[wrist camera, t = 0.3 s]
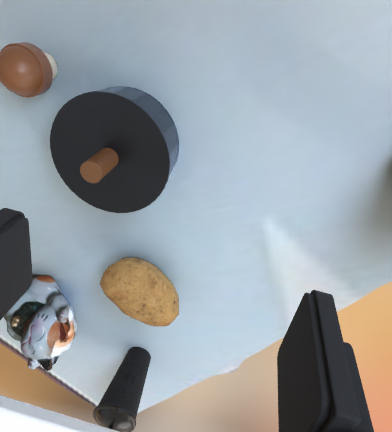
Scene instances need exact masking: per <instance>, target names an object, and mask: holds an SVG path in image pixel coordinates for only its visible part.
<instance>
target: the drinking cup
mask: <svg viewBox="0 0 392 432" xmlns="http://www.w3.org/2000/svg"><path fill="white" fill-rule="evenodd" d="M150 358H151V357H150V354H149V353H148V352H147V351H146V350H145V349H143V348H140V347H132V348H130V349H129V351H128V353H127V354H126V356H125V358H124V360H123V362H122V363H121V365H120V367H119V369H118V371H117V372H116V374H115V376H114V378H113V380H112V381H111V383H110V385H109V387H108V389H107V391H106V392H105V394H104V396H103V398H102V400H101V401H100V403H99V405H98V406H97V407H96V408H95V409H94V411H93V417H94V419H95V421H96V422H97V423H98V424H99V425H100V426H102V427H105V428H109V429H112V430H115V431H118V432H131V431H133V430H134V428H135V426H136V420H135V419H136V416H137V411H138V407H139V403H140V399H141V395H142V391H143V387H144V383H145V379H146V375H147V371H148V367H149V363H150Z"/></svg>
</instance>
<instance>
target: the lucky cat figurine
mask: <svg viewBox="0 0 392 432" xmlns="http://www.w3.org/2000/svg"><path fill="white" fill-rule="evenodd" d="M32 276H33V280H32V284H31V286H30V288H29V289H28V290H27V291H26V293H25V294H24V295H23V296H22V297H21V298H20V299H19V300H18V301H17V302H16V303H15V305H14V306H13V307H12V308H11V309H10V310H9V311H8V312H7V313H6V314H5V316H4V318H5V320H6V322H7V332H8V333H9V335H10V336H11V337H12V338H14V339H15V340H18V341H20V342H21V351H22V352H23V353H24V355H25V356H26V357H27V358H28V359H29V361H28V367H29V368H31V369H35V368H36V367H38V366H40V365H42V366H43V367H44V369H45V370H47V371H48V370H50V369H52V365H53V364H55V363H56V361H57V359H58V357H59V356H60V355H61V354H62V353H64V352H65V351H66V350H68V349H69V348H70V347H71V342H72V340H73V339H74V337H75V335H76V329H77V323H76V318H75V316H74V313H73V311H74V310H73V308H72V307H71V306H70V305H69V303H68V302H67V300H66V298H65V297H64V295H63V294H62V292H61V291H60V288H59V286H58V285H57V283H56V281H55V280H54V279H53V278H52V277H51V276H48V275H32Z"/></svg>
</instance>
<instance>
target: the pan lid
mask: <svg viewBox="0 0 392 432" xmlns="http://www.w3.org/2000/svg"><path fill="white" fill-rule="evenodd" d="M50 148H51V154H52V158H53V161H54V164H55V166H56V169H57V171H58V173H59V174H60V176H61V178H62V179H63V181H64V182H65V184H66V185H67V186H68V187H69V188H70V189H71V190H72V191H73V192H74V193H75V194H76V195H77V196H78V197H79V198H81V199H82V200H84V201H85V202H87V203H88V204H90V205H92V206H94V207H96V208H99V209H102V210H105V211H109V212H115V213H127V212H133V211H137V210H140V209H142V208H145V207H146V206H148V205H150V204H151V203H152V202H153V201H155V200H156V199H157V198H158V196H159V195H160V194H161V192H162V191H163V189H164V188H165V186H166V184H167V181H168V178H169V174H170V168H171V158H170V151H169V147H168V143H167V140H166V138H165V135H164V133H163V131H162V130H161V128H160V126H159V125H158V123H157V122H156V120H155V119H154V118H153V117H152V116H151V115H150V113H149V112H148V111H146V110H145V109H144V108H143V107H142V106H140V105H139V104H138V103H136V102H135V101H133V100H131V99H129V98H127V97H125V96H122V95H120V94H117V93H112V92H106V91H94V92H88V93H84V94H82V95H79V96H76V97H75V98H73V99H71V100H70V101H68V102H67V103H66V104H65V105H64V106H63V107H62V108H61V109H60V111H59V112H58V114H57V115H56V117H55V119H54V122H53V124H52V129H51V135H50Z"/></svg>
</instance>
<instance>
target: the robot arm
mask: <svg viewBox="0 0 392 432" xmlns="http://www.w3.org/2000/svg"><path fill="white" fill-rule="evenodd" d="M32 280H33V276H32V263H31V249H30V236H29V222H28V219H27V218H25V216H24V214H23V213H22V212H19V211H15V210H11V209H8V208H3V209H1V210H0V320H1V319H2V318H3V317H4V316H5V314H6V313H7V312H8V311H9V310H10V309H11V308H12V307H13V306H14V305H15V303H16V302H17V301H18V300H19V299H20V298H21V297H22V296H23V295H24V294H25V293H26V291H27V290H28V289H29V288H30V286H31V284H32ZM277 364H278V365H277V366H278V414H279V432H374V430H373V426H372V422H371V418H370V414H369V411H368V407H367V403H366V399H365V395H364V391H363V387H362V383H361V379H360V376H359V371H358V367H357V363H356V359H355V356H354V352H353V349H352V346H351V345H350V344H349V343H345V342H343V338H342V334H341V330H340V325H339V321H338V316H337V312H336V308H335V303H334V299H333V296H332V295H331V294H327V293H323V292H320V291H316V290H313V291H312V292H311V293H310V294H309V293H305V294H304V296H303V298H302V300H301V302H300V304H299V307H298V309H297V311H296V313H295V315H294V317H293V320H292V322H291V324H290V326H289V328H288V331H287V333H286V335H285V337H284V339H283V341H282V344H281V346H280V348H279V352H278V357H277ZM0 432H118V431H115V430H112V429H109V428H105V427H102V426H99V425H96V424H92V423H89V422H86V421H83V420H79V419H76V418H73V417H70V416H66V415H63V414H60V413H57V412H53V411H50V410H47V409H43V408H40V407H37V406H34V405H31V404H27V403H24V402H21V401H18V400H14V399H11V398H8V397H4V396H0Z"/></svg>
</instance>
